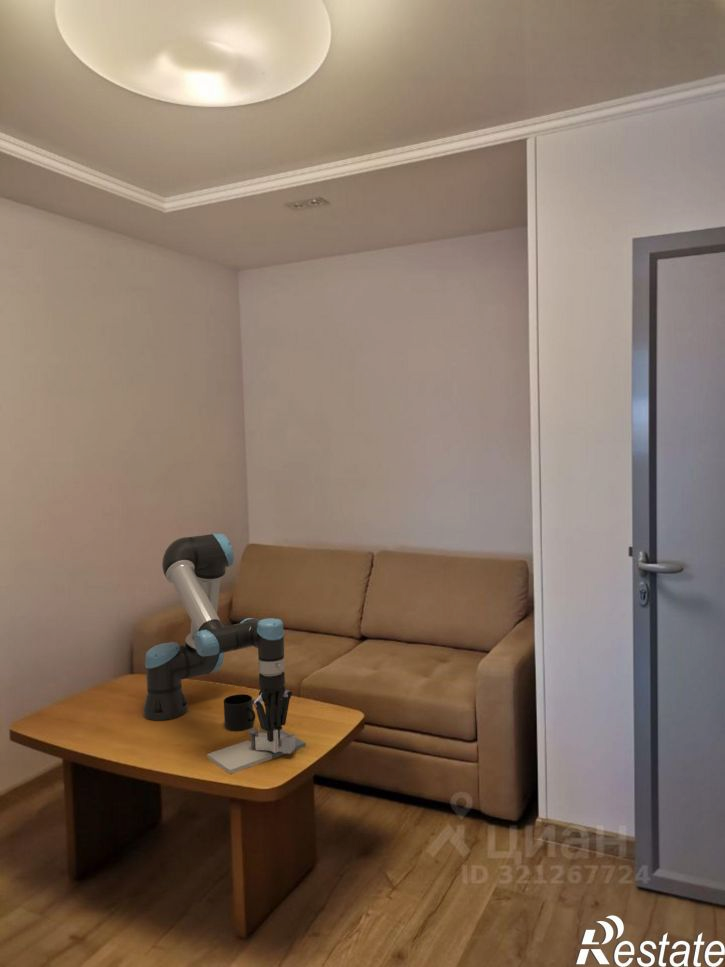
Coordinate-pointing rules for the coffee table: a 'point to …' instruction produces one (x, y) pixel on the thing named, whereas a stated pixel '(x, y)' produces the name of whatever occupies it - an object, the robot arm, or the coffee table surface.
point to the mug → (238, 712)
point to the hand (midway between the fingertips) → (274, 750)
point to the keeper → (262, 730)
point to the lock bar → (284, 743)
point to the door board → (246, 754)
